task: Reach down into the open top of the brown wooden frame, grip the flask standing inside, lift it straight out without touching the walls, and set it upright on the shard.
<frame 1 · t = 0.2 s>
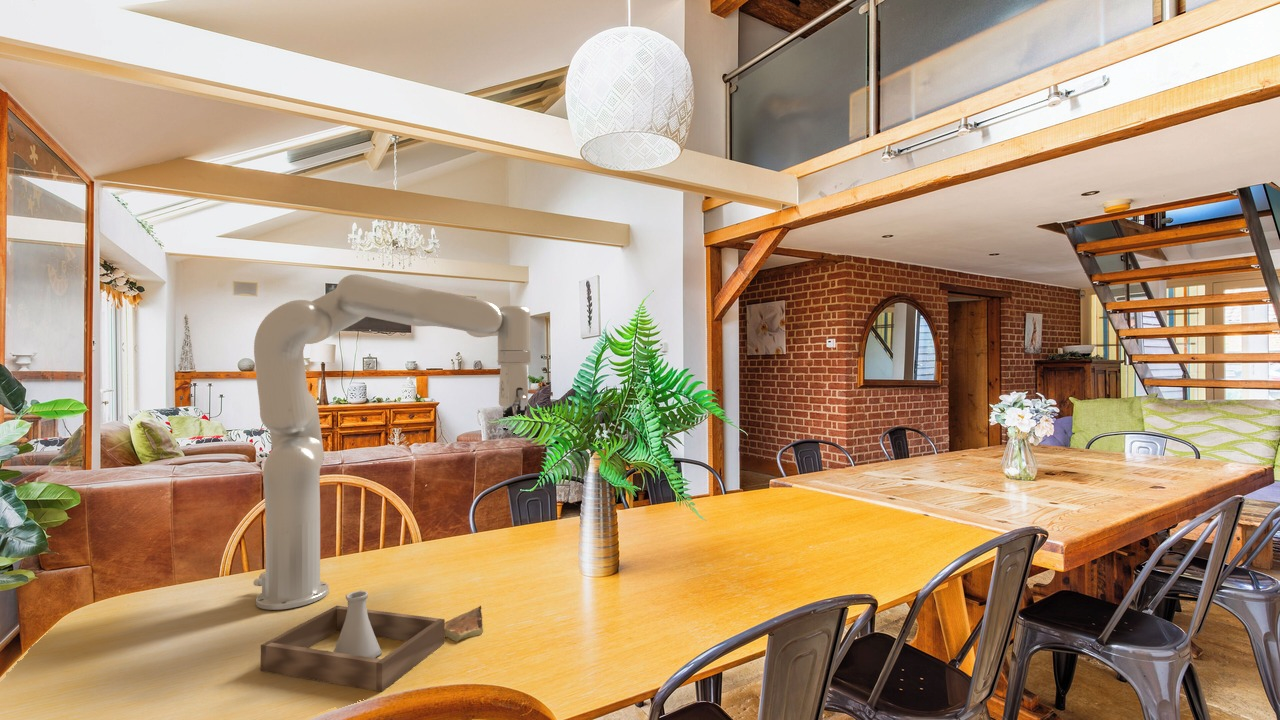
hand: (514, 432, 135), 31 cm above the table, tool pointing down, fingers open, 9 cm apart
shard: (459, 630, 103), on the table
flask: (356, 658, 93), on the table
brown wooden frame: (356, 656, 93), on the table
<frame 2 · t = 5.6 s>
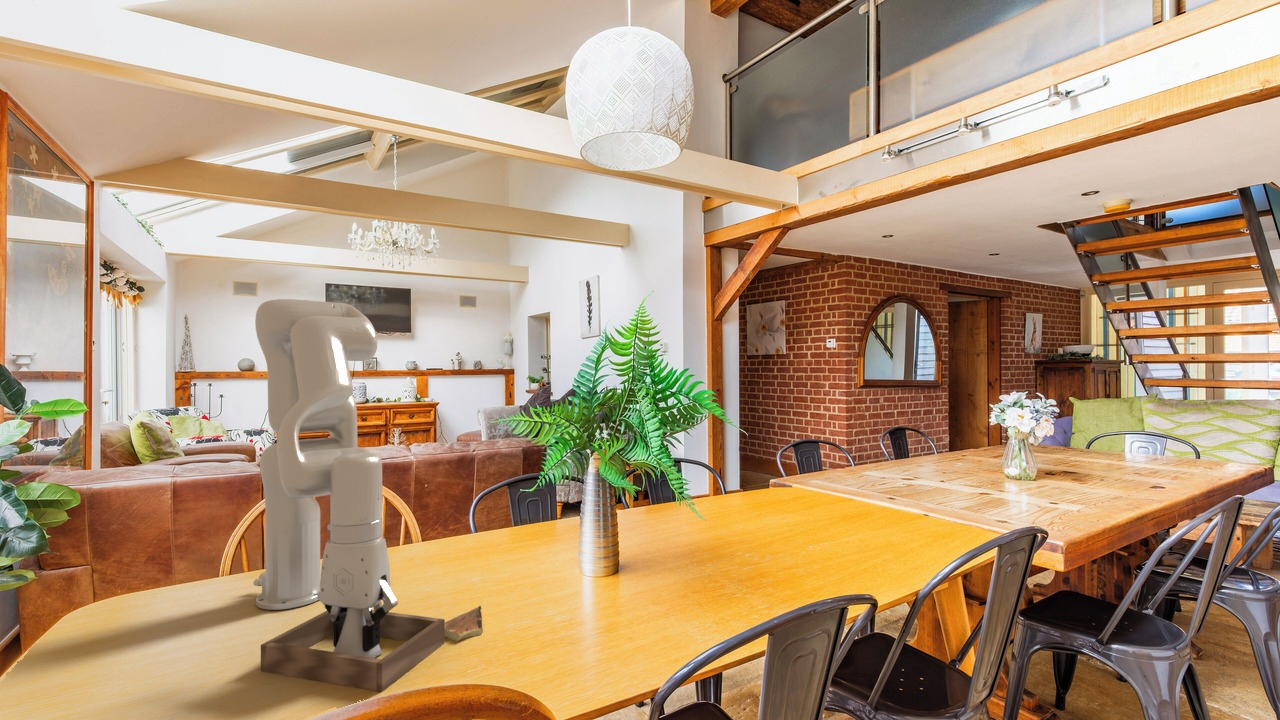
hand: (356, 644, 93), 2 cm above the table, tool pointing down, fingers closed on flask, 4 cm apart
flask: (356, 657, 93), on the table, touching gripper
everything else where it was.
when the fingers open (5 cm above the table, at t = 12.9 s): flask drops 2 cm, resting on shard.
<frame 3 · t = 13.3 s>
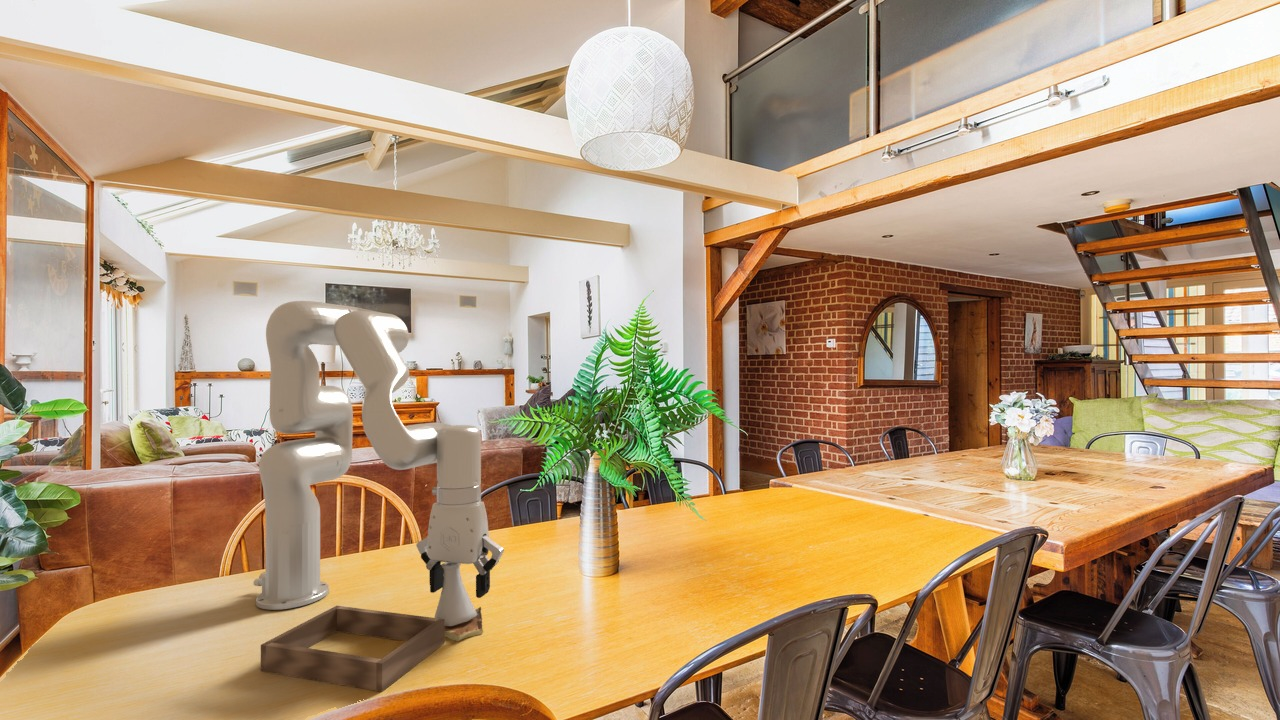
hand: (459, 592, 103), 6 cm above the table, tool pointing down, fingers open, 8 cm apart
shard: (459, 632, 103), on the table, touching flask
flask: (455, 620, 103), point 1 cm above the table, touching shard
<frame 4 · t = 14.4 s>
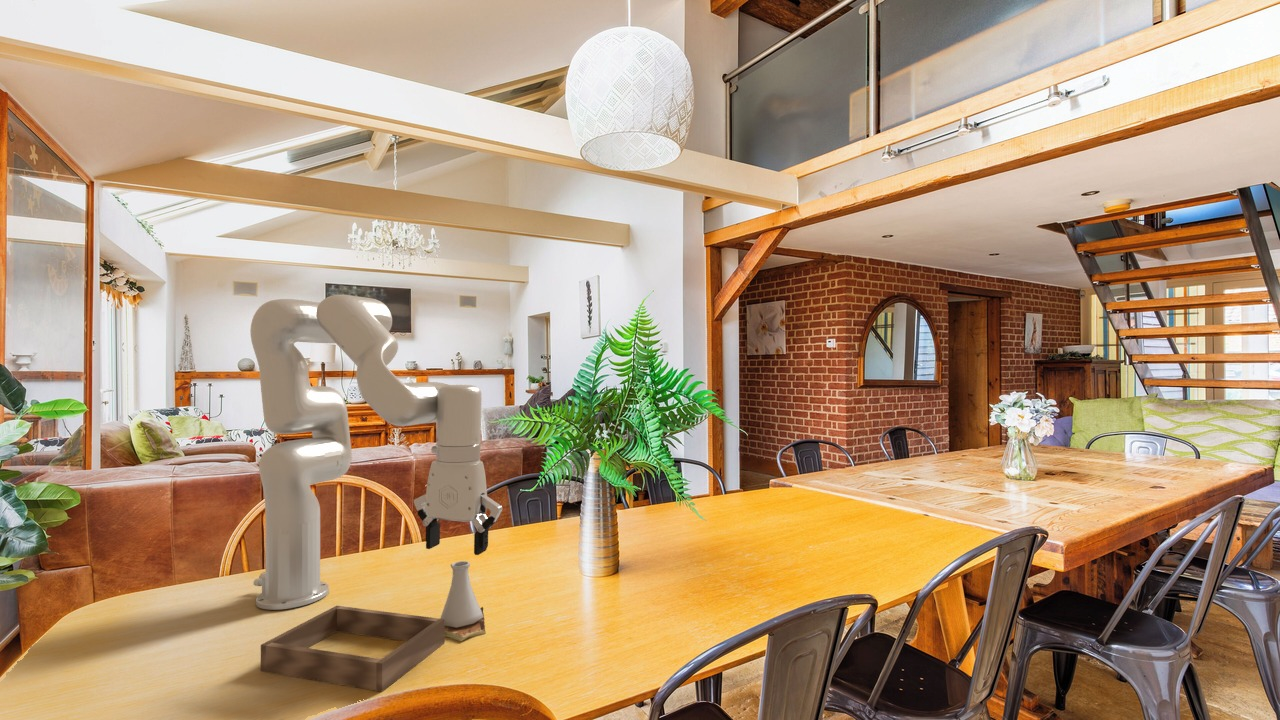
hand: (456, 549, 103), 14 cm above the table, tool pointing down, fingers open, 9 cm apart
flask: (461, 621, 103), point 1 cm above the table, touching shard
everything else where it was.
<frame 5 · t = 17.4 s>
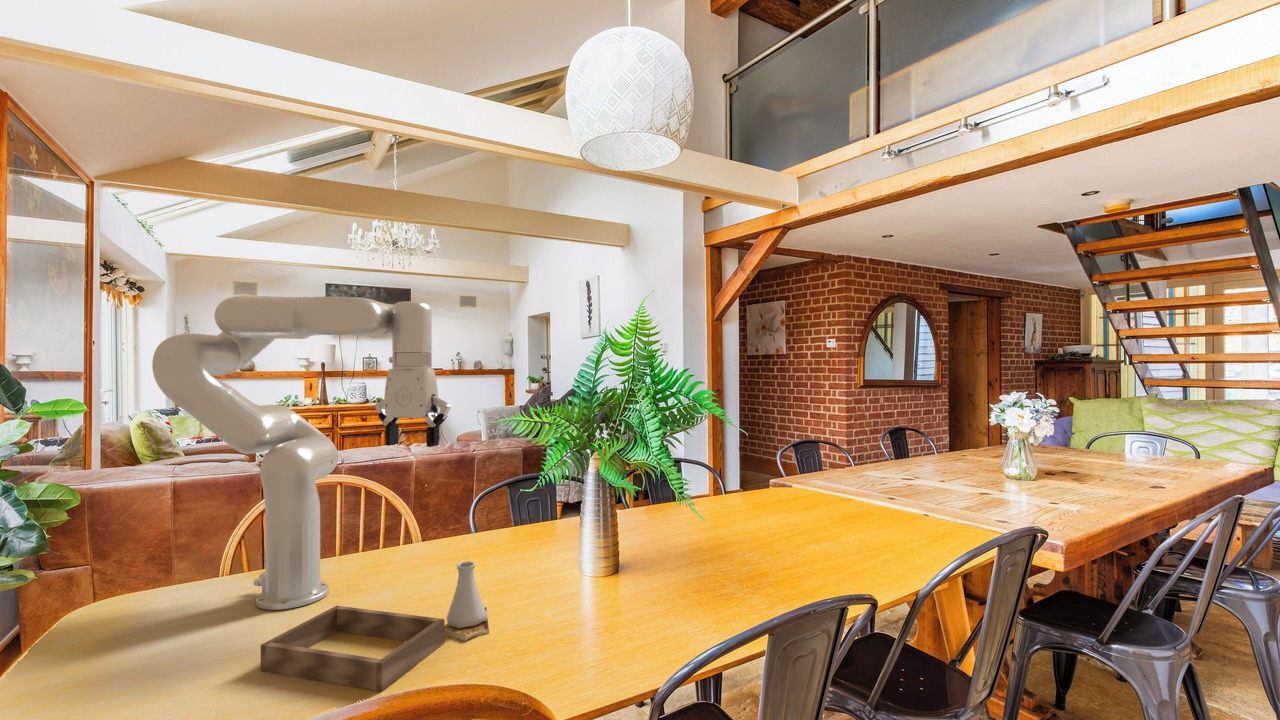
hand: (412, 445, 119), 30 cm above the table, tool pointing down, fingers open, 9 cm apart
at the end: flask 0.5 cm off-centre on the shard, point 2.0 cm above the shard's base; flask tilted 3°; the gripper is holding nothing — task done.
